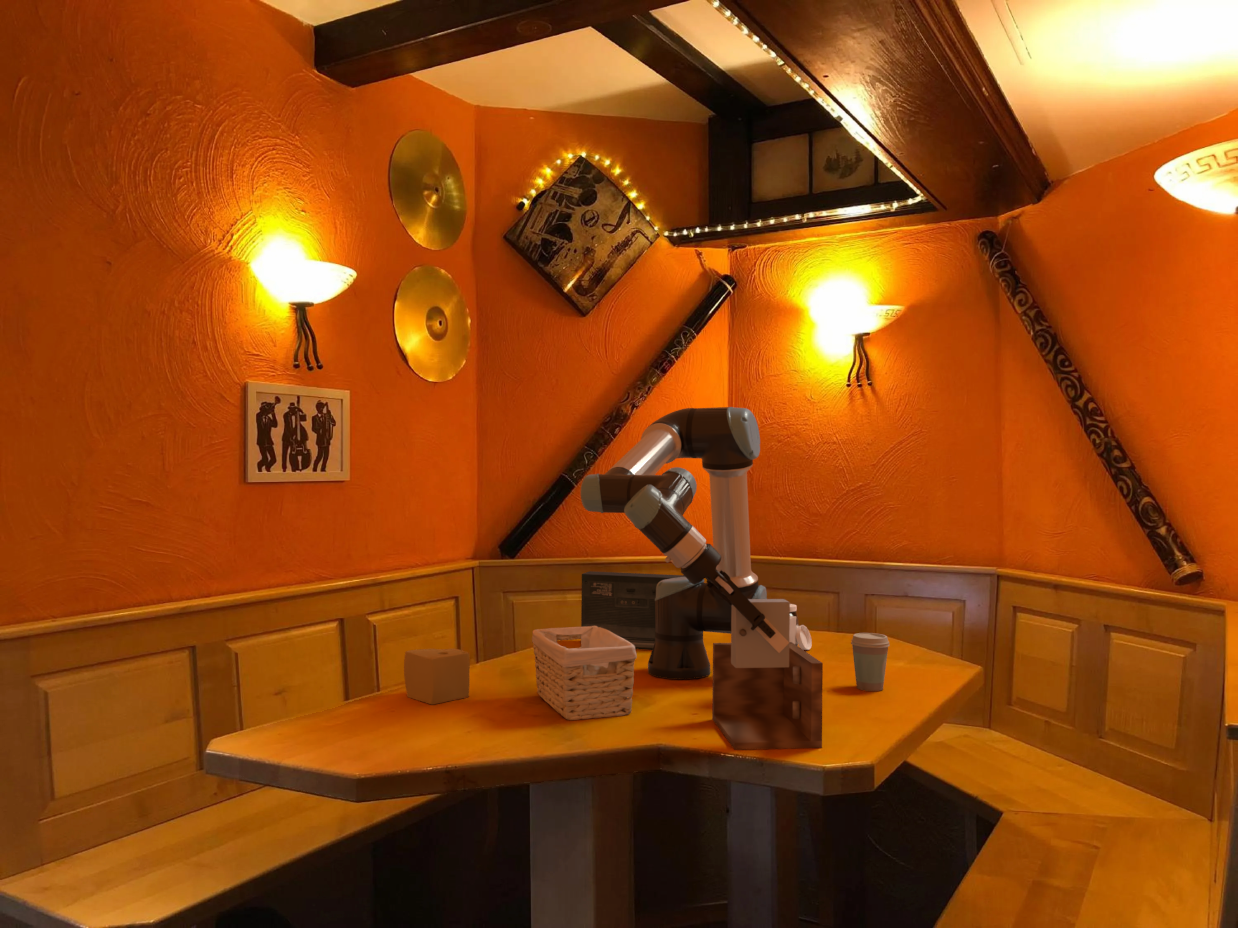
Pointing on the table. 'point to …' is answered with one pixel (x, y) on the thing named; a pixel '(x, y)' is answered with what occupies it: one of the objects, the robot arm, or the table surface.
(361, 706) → the table surface
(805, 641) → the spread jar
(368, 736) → the table surface
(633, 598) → the cassette player
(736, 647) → the door
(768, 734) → the cabinet
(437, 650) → the beige cube with hole
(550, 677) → the storage basket
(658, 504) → the robot arm
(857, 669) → the coffee cup
